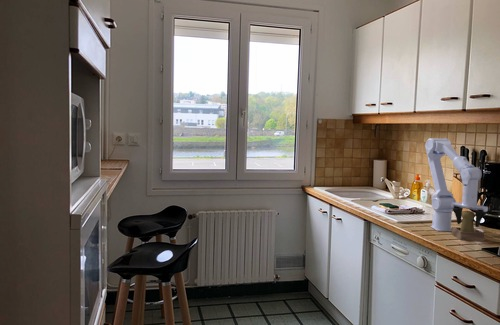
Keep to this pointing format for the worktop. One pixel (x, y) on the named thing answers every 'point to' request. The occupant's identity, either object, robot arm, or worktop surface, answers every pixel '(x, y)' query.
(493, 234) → the worktop surface
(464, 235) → the holder
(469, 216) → the cork
